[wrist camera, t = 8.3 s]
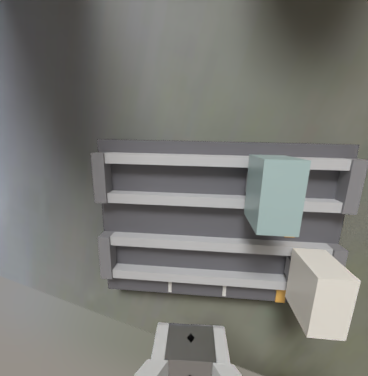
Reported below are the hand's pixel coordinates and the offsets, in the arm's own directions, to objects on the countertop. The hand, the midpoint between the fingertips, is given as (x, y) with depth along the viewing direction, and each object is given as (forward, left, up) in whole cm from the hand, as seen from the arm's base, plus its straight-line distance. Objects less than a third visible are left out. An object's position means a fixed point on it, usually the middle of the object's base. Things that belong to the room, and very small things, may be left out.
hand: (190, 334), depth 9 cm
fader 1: (+5, +5, -9) cm, 11 cm away
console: (+2, +1, -11) cm, 11 cm away
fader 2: (+9, -2, -9) cm, 12 cm away
